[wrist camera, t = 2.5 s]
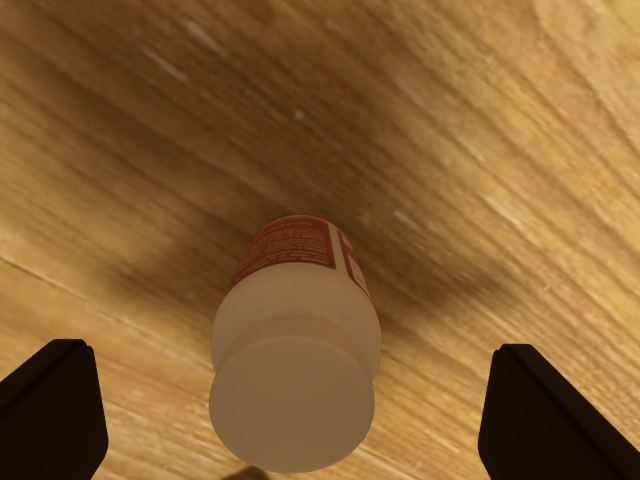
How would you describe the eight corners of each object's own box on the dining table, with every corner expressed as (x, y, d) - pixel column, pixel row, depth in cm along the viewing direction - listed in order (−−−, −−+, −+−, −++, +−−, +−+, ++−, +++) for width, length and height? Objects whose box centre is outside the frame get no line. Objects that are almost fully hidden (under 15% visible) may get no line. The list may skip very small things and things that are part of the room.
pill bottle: (225, 284, 16) (140, 444, 8) (279, 190, 15) (242, 269, 7) (320, 333, 17) (328, 523, 9) (378, 248, 16) (446, 378, 8)
